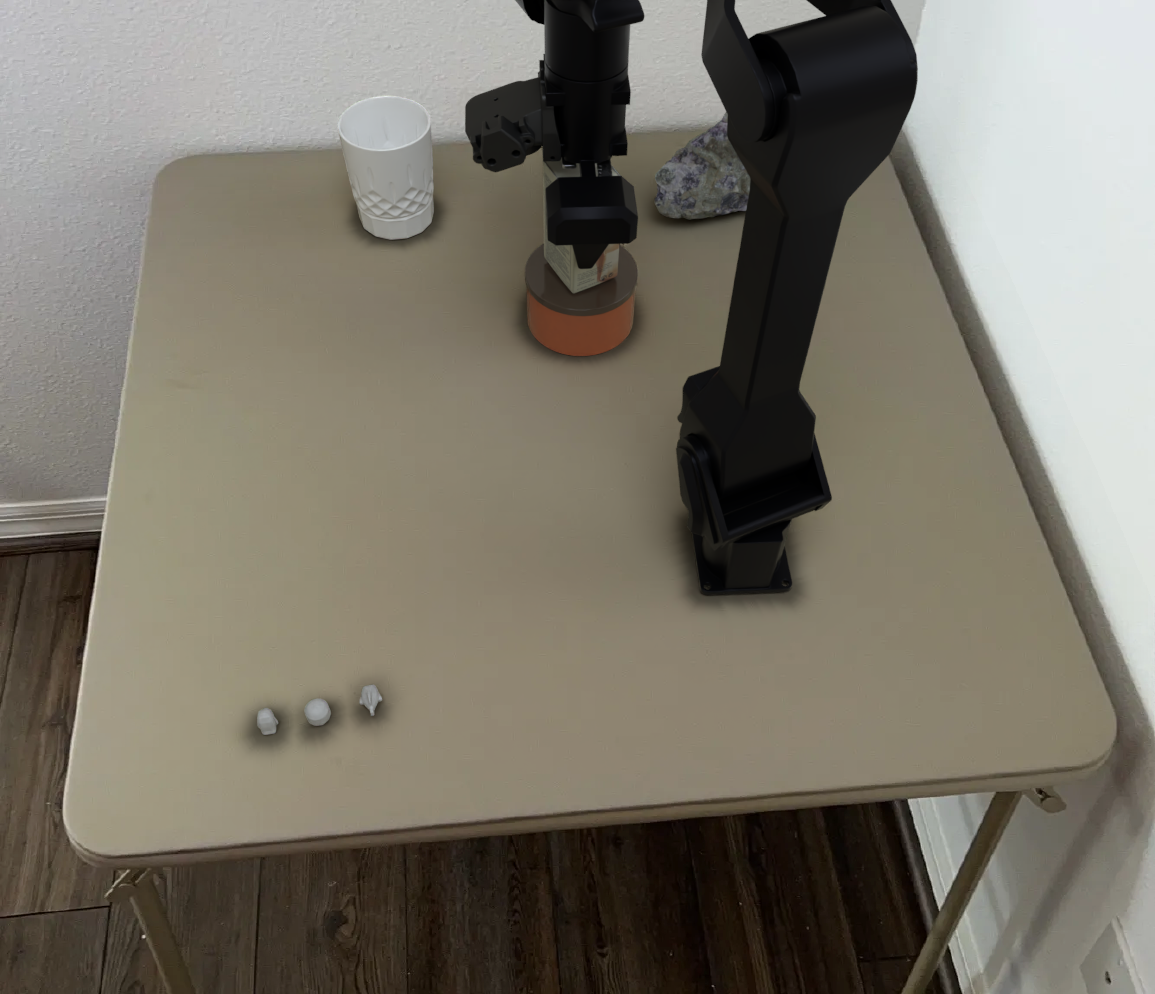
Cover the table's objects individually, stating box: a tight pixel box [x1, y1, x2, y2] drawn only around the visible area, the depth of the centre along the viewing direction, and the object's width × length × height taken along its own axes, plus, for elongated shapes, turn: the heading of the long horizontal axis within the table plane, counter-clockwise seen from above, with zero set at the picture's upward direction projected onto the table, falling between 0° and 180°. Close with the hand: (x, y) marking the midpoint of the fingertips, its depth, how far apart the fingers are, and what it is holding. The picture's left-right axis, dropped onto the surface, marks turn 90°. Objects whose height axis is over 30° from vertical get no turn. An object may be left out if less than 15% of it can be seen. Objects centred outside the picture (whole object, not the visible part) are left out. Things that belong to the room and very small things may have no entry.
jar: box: [524, 242, 639, 357], centre depth 94 cm, size 9×9×5 cm
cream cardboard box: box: [542, 158, 621, 293], centre depth 87 cm, size 5×4×10 cm
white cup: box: [336, 94, 435, 241], centre depth 100 cm, size 8×8×10 cm
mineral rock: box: [654, 111, 750, 220], centre depth 102 cm, size 13×11×10 cm
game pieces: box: [256, 683, 383, 736], centre depth 73 cm, size 8×2×2 cm, turn 102°
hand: (582, 240), depth 89 cm, fingers closed on cream cardboard box, 6 cm apart
